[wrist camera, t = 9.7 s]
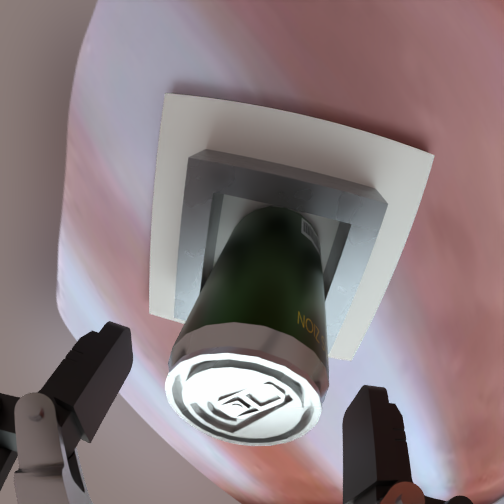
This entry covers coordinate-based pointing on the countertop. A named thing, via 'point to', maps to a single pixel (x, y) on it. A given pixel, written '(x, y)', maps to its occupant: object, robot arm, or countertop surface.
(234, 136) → the holder plate
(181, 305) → the can collar
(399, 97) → the countertop surface
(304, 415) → the beer can
